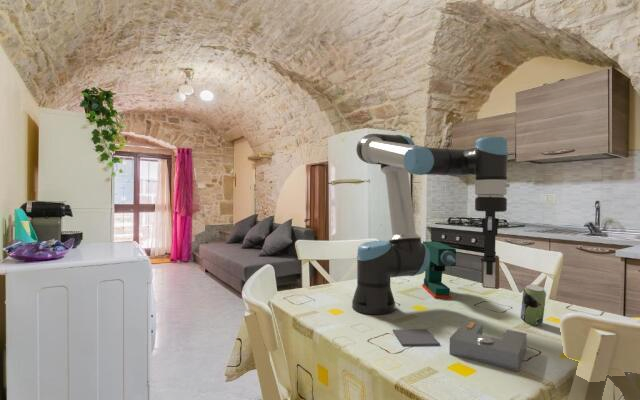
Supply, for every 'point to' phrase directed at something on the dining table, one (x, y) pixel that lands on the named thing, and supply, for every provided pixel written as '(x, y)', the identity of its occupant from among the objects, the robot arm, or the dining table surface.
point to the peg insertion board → (489, 346)
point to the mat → (415, 337)
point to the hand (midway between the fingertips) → (489, 284)
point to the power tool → (438, 269)
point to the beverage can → (533, 304)
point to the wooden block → (495, 273)
